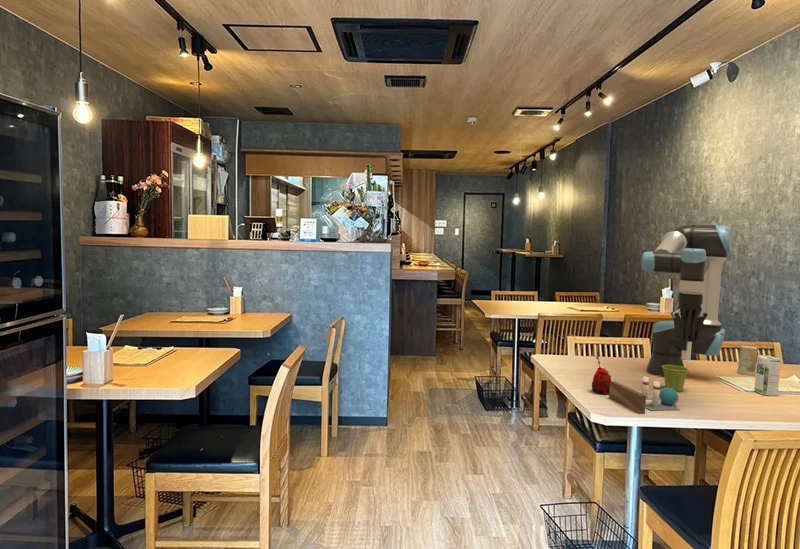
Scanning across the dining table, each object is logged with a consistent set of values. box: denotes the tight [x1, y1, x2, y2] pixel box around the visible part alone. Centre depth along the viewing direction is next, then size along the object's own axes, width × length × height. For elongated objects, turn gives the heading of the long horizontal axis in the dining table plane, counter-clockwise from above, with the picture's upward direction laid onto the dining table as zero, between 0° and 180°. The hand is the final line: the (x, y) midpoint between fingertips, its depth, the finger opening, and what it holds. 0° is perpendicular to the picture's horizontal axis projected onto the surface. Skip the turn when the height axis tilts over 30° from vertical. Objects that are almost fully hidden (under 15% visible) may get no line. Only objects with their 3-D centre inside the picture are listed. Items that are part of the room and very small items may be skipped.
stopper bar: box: [608, 380, 646, 415], centre depth 193 cm, size 2×18×6 cm, turn 11°
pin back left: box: [651, 380, 661, 408], centre depth 191 cm, size 2×2×9 cm
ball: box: [659, 387, 679, 406], centre depth 195 cm, size 6×6×6 cm
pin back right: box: [641, 375, 650, 400], centre depth 197 cm, size 2×2×9 cm
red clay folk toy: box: [591, 352, 612, 395], centre depth 208 cm, size 8×7×15 cm
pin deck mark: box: [645, 397, 681, 412], centre depth 195 cm, size 11×13×1 cm
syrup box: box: [753, 354, 782, 397], centre depth 215 cm, size 6×6×14 cm
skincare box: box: [737, 345, 758, 377], centre depth 248 cm, size 6×4×12 cm
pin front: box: [645, 399, 661, 406], centre depth 193 cm, size 2×2×9 cm
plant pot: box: [662, 365, 690, 392], centre depth 216 cm, size 9×9×9 cm
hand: (685, 359), depth 196 cm, fingers closed
